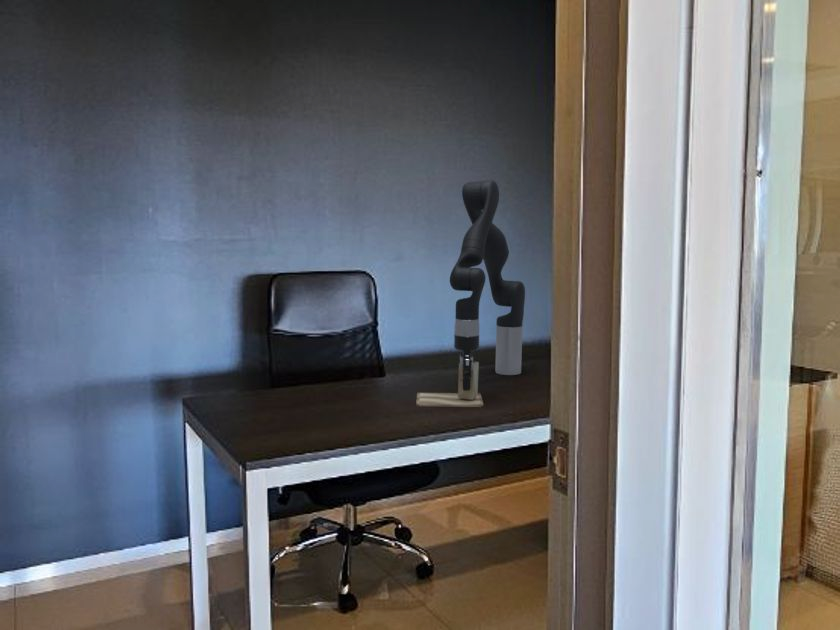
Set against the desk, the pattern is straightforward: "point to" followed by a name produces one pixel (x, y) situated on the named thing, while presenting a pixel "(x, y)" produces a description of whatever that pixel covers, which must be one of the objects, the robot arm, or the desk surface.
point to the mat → (447, 400)
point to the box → (473, 382)
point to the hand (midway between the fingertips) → (465, 387)
